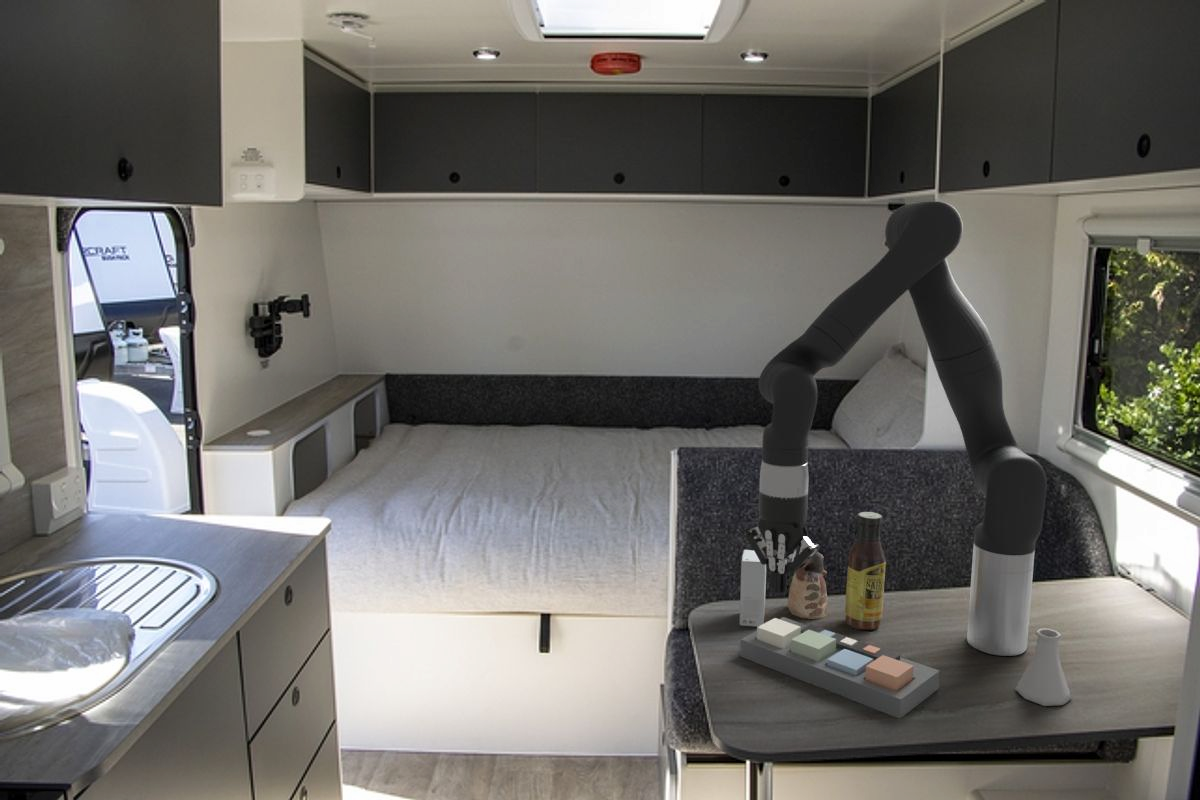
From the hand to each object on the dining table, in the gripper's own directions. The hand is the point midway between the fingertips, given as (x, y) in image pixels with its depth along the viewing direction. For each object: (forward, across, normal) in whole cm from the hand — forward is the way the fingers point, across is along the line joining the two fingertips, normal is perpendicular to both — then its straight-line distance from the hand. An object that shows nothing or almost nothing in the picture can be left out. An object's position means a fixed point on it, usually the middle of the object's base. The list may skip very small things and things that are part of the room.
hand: (780, 592), depth 154 cm
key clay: (+8, -19, 0) cm, 21 cm away
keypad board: (+11, -10, -2) cm, 15 cm away
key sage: (+8, -6, 0) cm, 11 cm away
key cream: (+9, 0, 0) cm, 9 cm away
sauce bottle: (+11, -4, -21) cm, 24 cm away
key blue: (+10, -13, 0) cm, 16 cm away
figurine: (+11, +6, -19) cm, 23 cm away
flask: (+11, -36, -16) cm, 41 cm away
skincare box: (+11, +11, -9) cm, 18 cm away
